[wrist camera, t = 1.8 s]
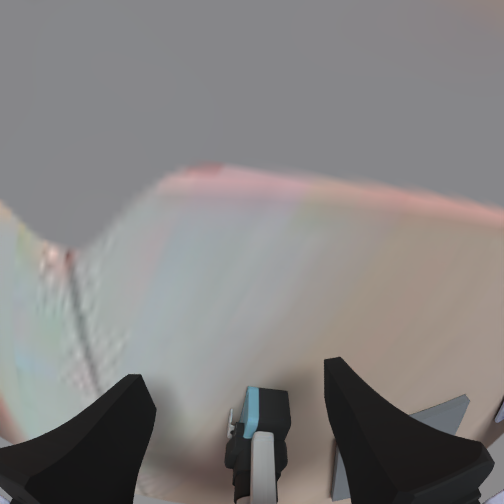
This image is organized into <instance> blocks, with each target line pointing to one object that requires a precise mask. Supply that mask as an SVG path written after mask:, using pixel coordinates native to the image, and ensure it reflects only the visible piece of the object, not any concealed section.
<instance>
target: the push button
mask: <svg viewBox="0 0 504 504" xmlns="http://www.w3.org/2000/svg"><path fill="white" fill-rule="evenodd" d="M232 410H233V409H231V411H230V415H229V421H228V431H227V438H231V439H230V440H229V441H228V443H227V445H226V453H225V466H226V468H230V469H233V483H232V485H234V486H235V492H234V503H235V504H277V502H278V494H277V481H278V479H279V478H280V476H281V471H282V470H283V469H284V468H285V467H286V466H287V463H288V459H287V447H286V443H285V441H284V440H285V438H286V436H287V434H288V431H289V429H290V426H291V416H290V407H289V399H288V392H287V391H282V390H273V389H265V388H256V387H249V386H248V388H247V392H246V398H245V402H244V406H243V410H242V413H241V417H240V421H239V422H236V424H235V426H232V425H231V421H232Z"/></svg>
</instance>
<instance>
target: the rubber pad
mask: <svg viewBox="0 0 504 504" xmlns="http://www.w3.org/2000/svg"><path fill="white" fill-rule="evenodd" d="M469 402H470V400H469V399H468V397H467V396H466V395H465V394H464V395H462V396H460V397H457V398H455V399H452V400H450V401H448V402H445V403H442V404H440V405H437V406H435V407H432V408H429V409H426V410H423V411H421V412H418V413H415V414H412V415H409V416H411V417H412V418H414V419H416V420H418V421H420V422H422V423H424V424H426V425H429V426H431V427H433V428H435V429H437V430H440V431H443V432H445V433H448V434H451V435H455V433H456V431H457V429H458V427H459V425H460V423H461V421H462V418H463V416H464V414H465V412H466V409H467V407H468V404H469ZM331 497H332V502H333V501H338V500H343V499H347V498H351V497H350V492H349V486H348V481H347V476H346V471H345V467H344V464H343V460H342V457H341V454H340V451H339V448H338V445H336V456H335V466H334V475H333V483H332V491H331Z"/></svg>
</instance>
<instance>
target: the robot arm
mask: <svg viewBox="0 0 504 504" xmlns="http://www.w3.org/2000/svg"><path fill="white" fill-rule="evenodd" d="M324 398H325V403H326V408H327V413H328V418H329V421H330V425H331V428H332V431H333V434H334V437H335V439H336V442H337V445H338V448H339V451H340V454H341V457H342V460H343V464H344V467H345V471H346V476H347V481H348V486H349V492H350V497H351V503H352V504H480V502H479V500H478V499H479V498H480V497H481V493H480V491H479V489H478V487H479V486H480V485H481V484H482V483H483V482H484V480H485V479H486V478H487V477H488V475H489V474H490V473H491V471H492V469H493V467H494V464H495V462H494V461H493V459H492V457H491V456H490V454H489V452H488V451H487V449H486V448H485V447H484V445H483V444H482V443H481V442H478V441H474V440H470V439H465V438H461V437H457V436H454V435H451V434H448V433H445V432H443V431H440V430H437V429H435V428H433V427H431V426H429V425H426V424H424V423H422V422H420V421H418V420H416V419H414V418H412V417H411V416H409V415H407V414H406V413H404V412H402V411H401V410H399V409H398V408H396V407H395V406H393V405H392V404H391V403H389V402H388V401H387V400H385V399H384V398H383V397H382V396H380V395H379V394H378V393H377V392H376V391H374V390H373V389H372V388H371V387H370V386H369V385H368V384H367V383H366V382H364V381H363V380H362V379H361V378H360V377H359V376H358V375H357V374H356V373H355V372H354V371H353V370H352V369H351V368H350V366H349V365H348V364H347V363H346V362H345V361H344V360H343V359H342V358H341V357H336V358H330V359H325V360H324ZM156 410H157V409H156V407H155V405H154V403H153V400H152V398H151V396H150V394H149V392H148V389H147V387H146V385H145V382H144V380H143V378H142V375H141V374H128V375H127V376H125V377H124V378H123V379H121V380H120V381H119V382H118V383H116V384H115V385H114V386H113V387H112V388H111V389H109V390H108V391H107V392H106V393H105V394H103V395H102V396H101V397H100V398H99V399H97V400H96V401H95V402H94V403H93V404H91V405H90V406H89V407H87V408H86V409H85V410H83V411H82V412H81V413H79V414H78V415H77V416H75V417H74V418H72V419H71V420H69V421H68V422H66V423H64V424H63V425H61V426H59V427H58V428H56V429H54V430H52V431H50V432H48V433H45V434H43V435H41V436H39V437H37V438H34V439H32V440H29V441H26V442H23V443H20V444H16V445H12V446H8V447H4V448H0V487H1V488H2V489H3V490H4V491H6V492H7V493H8V494H9V495H10V496H11V497H12V498H13V499H12V501H11V502H9V501H8V500H7V499H6V498H4V497H2V496H1V495H0V504H133V498H134V492H135V486H136V481H137V476H138V473H139V469H140V466H141V463H142V460H143V457H144V455H145V452H146V449H147V446H148V443H149V440H150V437H151V434H152V431H153V427H154V422H155V416H156ZM503 419H504V402H503V404H502V406H501V408H500V410H499V412H498V414H497V416H496V418H495V422H496V423H498V422H500V421H502V420H503ZM483 504H504V489H503V490H502V491H500V492H499V493H497V494H496V495H494V496H492V497H491V498H489V499H488V500H486V501H485V502H484V503H483Z"/></svg>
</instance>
